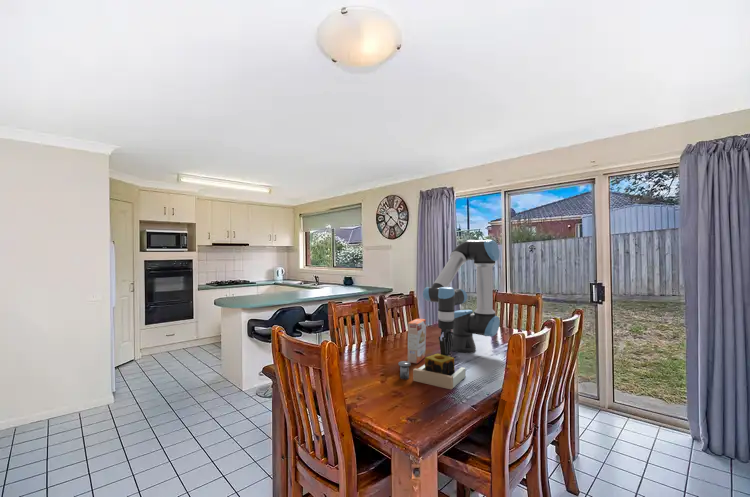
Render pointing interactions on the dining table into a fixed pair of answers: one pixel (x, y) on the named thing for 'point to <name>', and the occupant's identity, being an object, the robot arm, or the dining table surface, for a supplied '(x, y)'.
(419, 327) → the cracker box
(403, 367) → the mushroom drawer knob
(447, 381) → the bay
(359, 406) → the dining table surface
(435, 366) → the candle
